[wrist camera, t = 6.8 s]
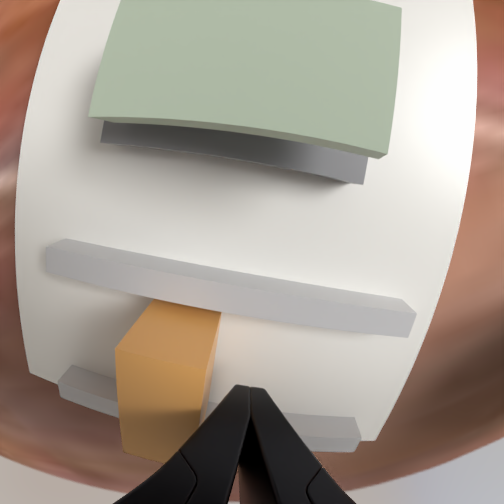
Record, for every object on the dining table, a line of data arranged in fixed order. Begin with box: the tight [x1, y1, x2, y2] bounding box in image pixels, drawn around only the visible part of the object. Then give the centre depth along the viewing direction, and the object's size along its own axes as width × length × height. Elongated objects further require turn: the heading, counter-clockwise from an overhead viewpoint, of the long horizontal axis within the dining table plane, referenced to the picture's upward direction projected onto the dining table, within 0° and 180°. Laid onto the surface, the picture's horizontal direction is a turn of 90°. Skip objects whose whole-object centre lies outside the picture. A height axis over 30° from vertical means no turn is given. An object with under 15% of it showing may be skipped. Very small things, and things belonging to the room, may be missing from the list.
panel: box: [15, 0, 477, 452], centre depth 8 cm, size 15×23×4 cm, turn 170°
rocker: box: [88, 0, 402, 159], centre depth 5 cm, size 6×3×1 cm, turn 80°
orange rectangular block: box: [115, 299, 222, 463], centre depth 8 cm, size 2×4×3 cm, turn 170°
